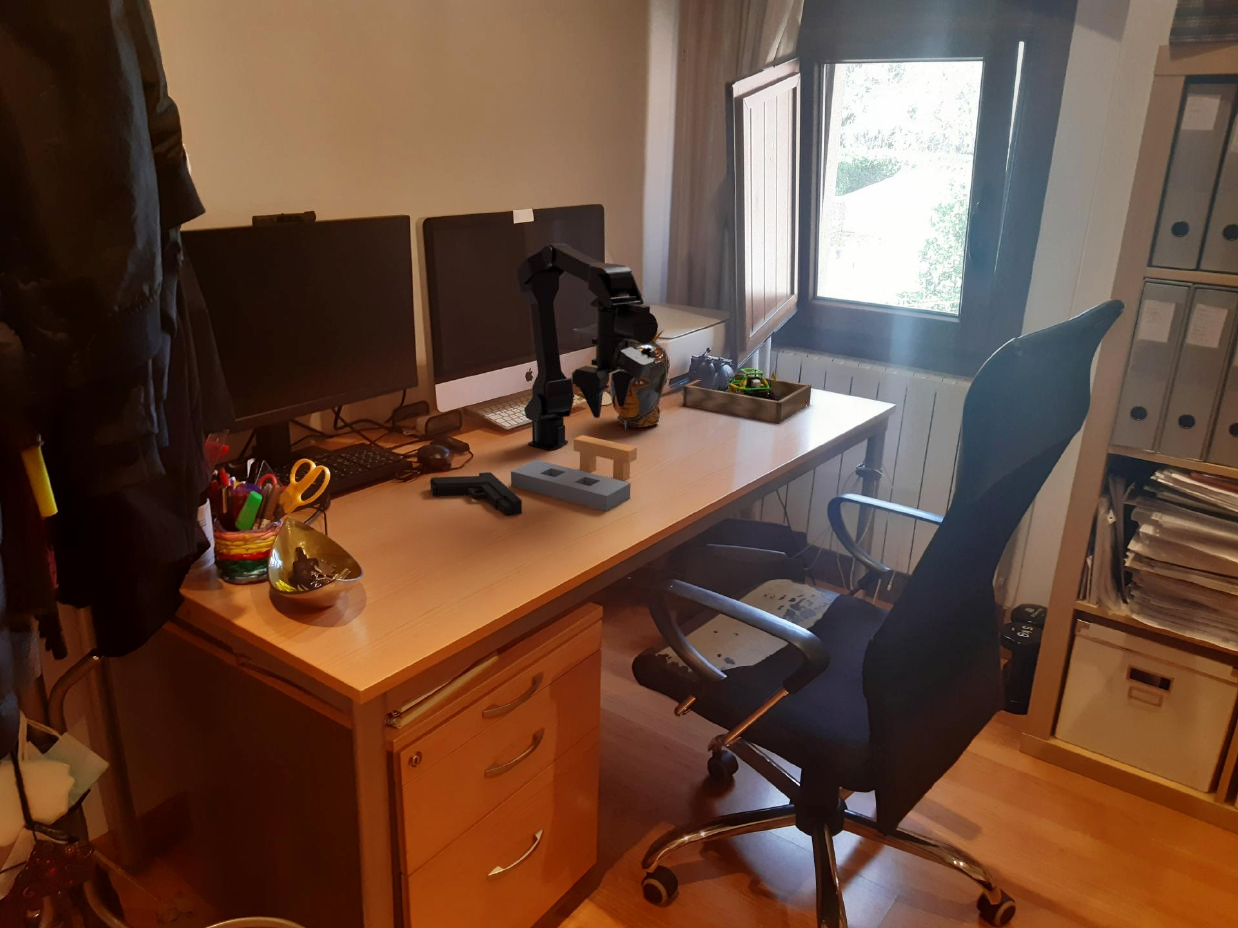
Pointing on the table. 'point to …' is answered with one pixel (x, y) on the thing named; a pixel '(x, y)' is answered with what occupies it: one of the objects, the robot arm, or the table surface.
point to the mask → (644, 391)
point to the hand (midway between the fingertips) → (609, 411)
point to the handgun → (479, 491)
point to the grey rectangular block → (571, 485)
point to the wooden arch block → (605, 455)
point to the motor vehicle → (752, 386)
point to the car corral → (750, 400)
